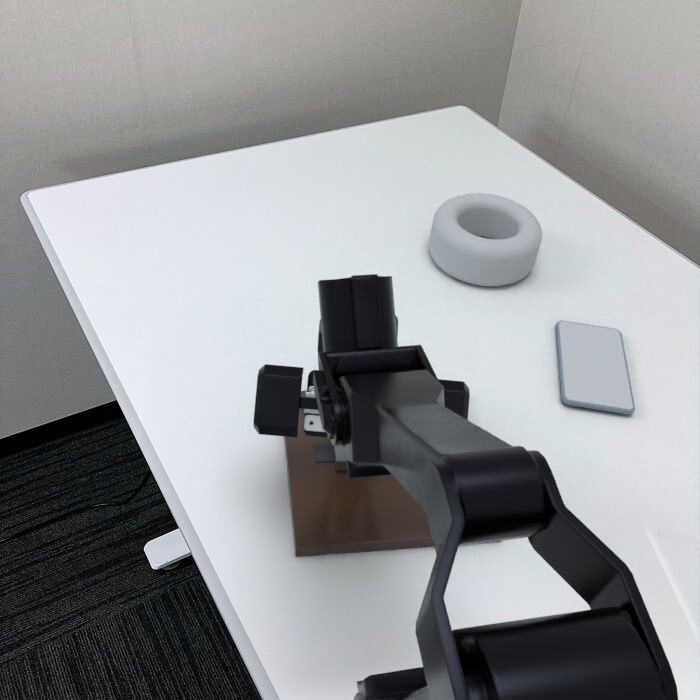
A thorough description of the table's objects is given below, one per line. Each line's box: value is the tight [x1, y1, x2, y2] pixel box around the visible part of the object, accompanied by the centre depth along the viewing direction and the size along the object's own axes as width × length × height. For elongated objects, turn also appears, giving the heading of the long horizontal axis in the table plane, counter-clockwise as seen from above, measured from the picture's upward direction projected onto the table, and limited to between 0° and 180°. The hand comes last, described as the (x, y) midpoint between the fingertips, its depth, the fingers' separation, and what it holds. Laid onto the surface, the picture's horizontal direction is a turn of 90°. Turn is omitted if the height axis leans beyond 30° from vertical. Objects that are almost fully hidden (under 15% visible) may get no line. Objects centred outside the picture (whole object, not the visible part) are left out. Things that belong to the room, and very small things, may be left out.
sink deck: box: [283, 389, 498, 558], centre depth 80 cm, size 20×20×2 cm
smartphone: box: [555, 320, 636, 415], centre depth 94 cm, size 8×1×15 cm
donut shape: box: [428, 192, 543, 287], centre depth 107 cm, size 15×15×7 cm
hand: (358, 404), depth 77 cm, fingers closed on tap, 3 cm apart
